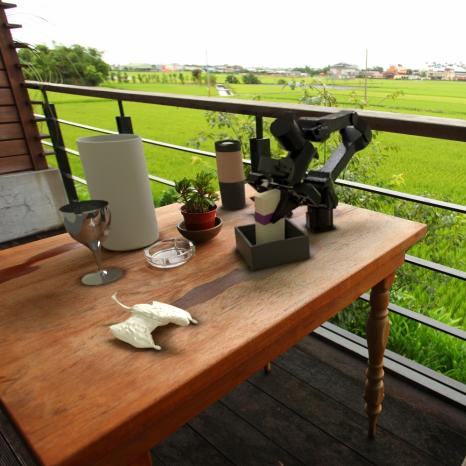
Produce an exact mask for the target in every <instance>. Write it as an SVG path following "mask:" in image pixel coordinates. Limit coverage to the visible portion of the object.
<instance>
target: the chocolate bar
mask: <svg viewBox="0 0 466 466" xmlns="http://www.w3.org/2000/svg"><path fill="white" fill-rule="evenodd" d="M254 197H255V202H254V222H255V226H256V245H258V244H263V243H269V242H274V241H279V240H284V236H285V218H286V215H285V216H284V217H283V218H281V219H280V220H279V221H277V222H276V223H275V224H272V223H271V222H270V220H271V218H272V215H273V213H274V211H275V209H276V207H277V205H278V203H279V201H280V190H278V189H273V190H269V191H266V192H263V193H257V194H254Z"/></svg>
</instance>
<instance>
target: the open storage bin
mask: <svg viewBox="0 0 466 466" xmlns="http://www.w3.org/2000/svg"><path fill="white" fill-rule="evenodd" d="M233 227H234V236H235V248H236V250H237V252H238V253H239V254H240V255H241V257H242V258H243V259H244V261H245V262H246V263H247V265H248V266H249V268H250V269H251V271H258V270H263V269H268V268H271V267H276V266H280V265H284V264H289V263H293V262H298V261H303V260H307V259H311V252H310V251H311V249H310V235H309V234H308V233H307V232H306V231H305V230H303V229H302V228H301V227H299V226H298V225H297V224H296V223H295V222H293V221H292V220H291V219H290V218H289V217H285V236H284V240H279V241H274V242H269V243H263V244H258V245H256V226H255V223H249V224H242V225H236V226H233Z"/></svg>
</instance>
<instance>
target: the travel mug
mask: <svg viewBox="0 0 466 466" xmlns="http://www.w3.org/2000/svg"><path fill="white" fill-rule="evenodd" d="M213 143H214V151H215V152H214V153H215V154H214V155H215V163H216V171H217V172H216V173H217V180H218V182H217V183H218V188H219V194H220V200H221V201H220V202H221V207H222V209H223V210H227V211H236V210H237V211H238V210H242V209H244V208H246V207H247V202H246V201H247V200H246V198H247V197H246V184H245V183H246V181H245V173H244V162H243V151H242V142H241V141H240V140H237V139H221V140H216V141H214V142H213Z"/></svg>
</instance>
